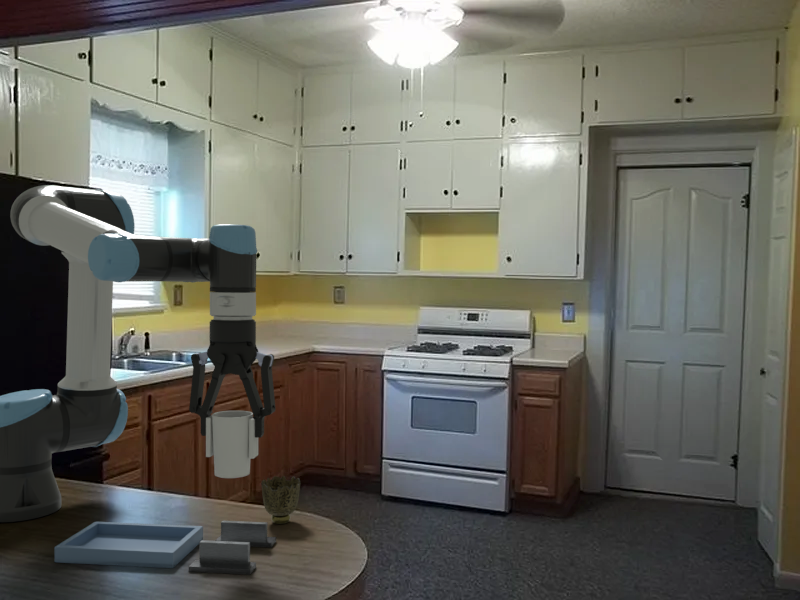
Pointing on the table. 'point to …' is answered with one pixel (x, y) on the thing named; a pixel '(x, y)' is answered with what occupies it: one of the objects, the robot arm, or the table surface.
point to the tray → (130, 544)
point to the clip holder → (232, 548)
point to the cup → (280, 497)
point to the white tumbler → (231, 443)
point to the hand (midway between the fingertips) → (232, 455)
